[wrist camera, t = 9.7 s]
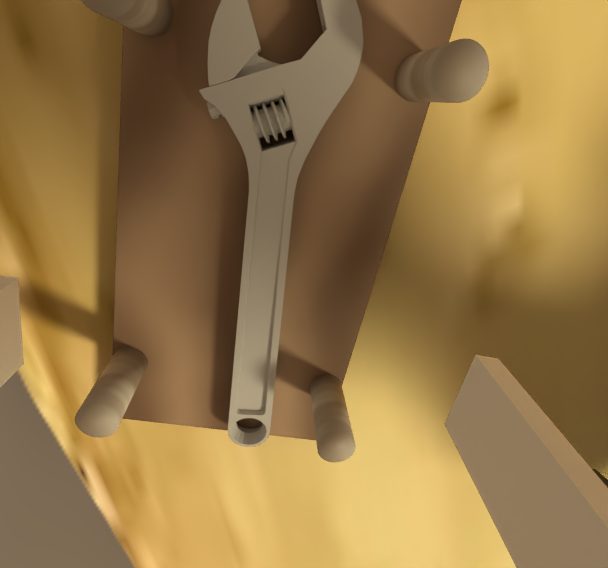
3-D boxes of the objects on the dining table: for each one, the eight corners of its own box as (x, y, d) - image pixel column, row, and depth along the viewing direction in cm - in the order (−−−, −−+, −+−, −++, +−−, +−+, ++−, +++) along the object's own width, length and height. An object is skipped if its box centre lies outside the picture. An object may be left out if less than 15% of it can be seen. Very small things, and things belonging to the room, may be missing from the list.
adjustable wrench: (269, 431, 27) (268, 452, 26) (171, 420, 26) (164, 441, 25) (370, -8, 17) (379, -18, 16) (218, -50, 16) (212, -65, 15)
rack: (457, -24, 19) (542, -80, 13) (322, 425, 29) (334, 508, 23) (140, -119, 17) (66, -239, 11) (118, 401, 27) (75, 485, 21)
